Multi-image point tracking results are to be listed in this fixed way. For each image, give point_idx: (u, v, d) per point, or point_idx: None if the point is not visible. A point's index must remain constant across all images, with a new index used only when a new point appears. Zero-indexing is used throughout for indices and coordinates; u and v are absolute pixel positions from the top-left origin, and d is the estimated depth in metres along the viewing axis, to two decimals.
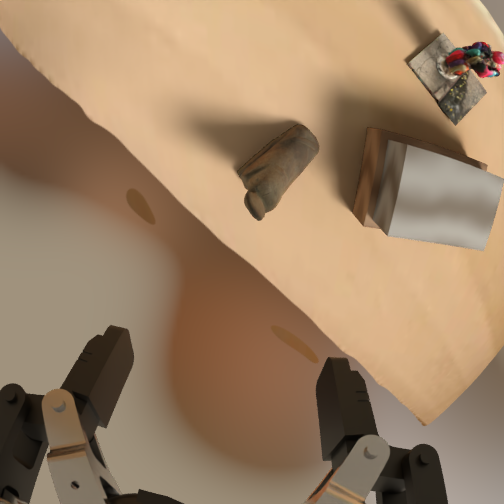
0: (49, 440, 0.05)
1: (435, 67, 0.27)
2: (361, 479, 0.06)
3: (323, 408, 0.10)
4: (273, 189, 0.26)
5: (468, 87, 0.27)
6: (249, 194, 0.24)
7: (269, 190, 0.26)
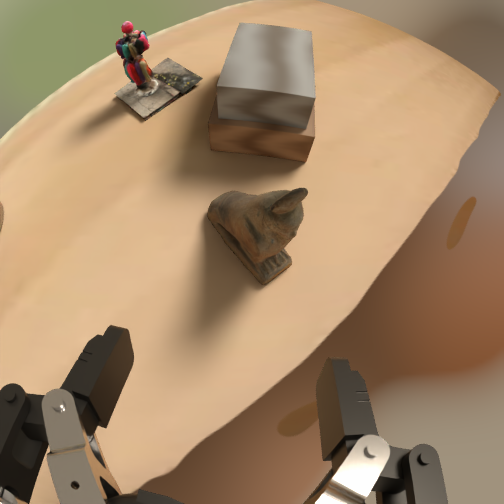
0: (49, 440, 0.05)
1: (147, 96, 0.37)
2: (361, 478, 0.06)
3: (323, 408, 0.10)
4: (270, 194, 0.20)
5: (165, 71, 0.38)
6: (272, 204, 0.18)
7: (271, 196, 0.20)
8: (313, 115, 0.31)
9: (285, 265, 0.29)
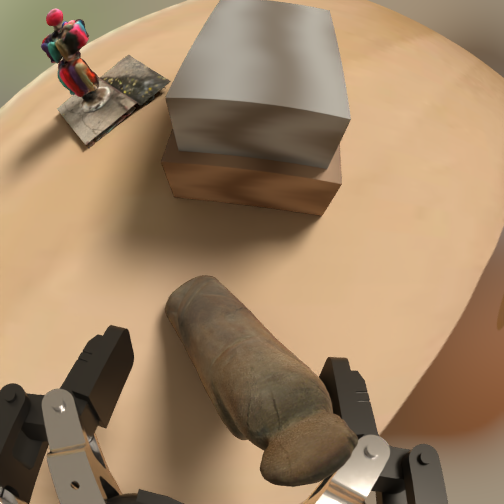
0: (49, 440, 0.05)
1: (94, 111, 0.25)
2: (361, 478, 0.06)
3: None
4: (264, 383, 0.08)
5: (122, 74, 0.26)
6: (265, 470, 0.05)
7: (265, 396, 0.08)
8: None
9: None
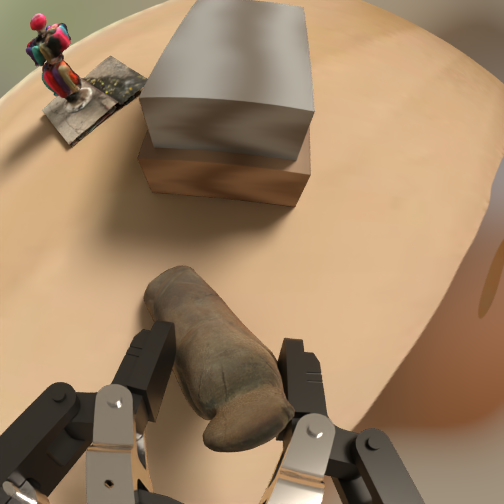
0: (94, 433, 0.06)
1: (77, 112, 0.24)
2: (312, 459, 0.06)
3: None
4: (216, 358, 0.09)
5: (104, 75, 0.26)
6: (205, 436, 0.06)
7: (215, 370, 0.09)
8: (307, 135, 0.20)
9: None
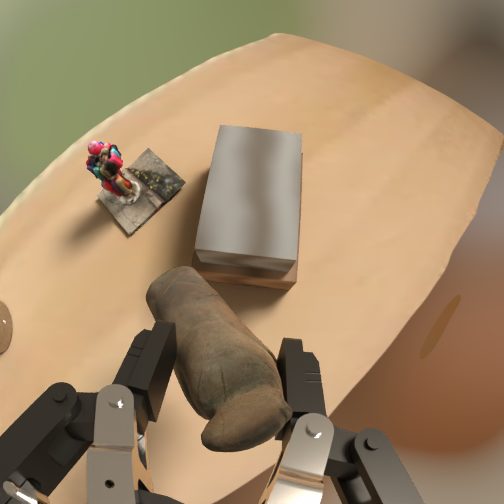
0: (95, 433, 0.06)
1: (130, 205, 0.39)
2: (311, 459, 0.06)
3: None
4: (215, 358, 0.09)
5: (146, 168, 0.41)
6: (204, 436, 0.06)
7: (215, 370, 0.09)
8: (297, 251, 0.34)
9: None
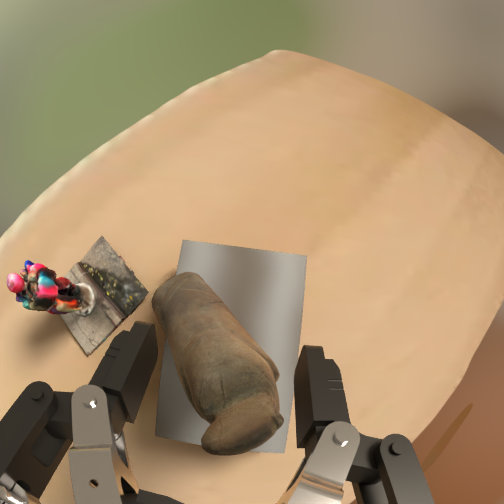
0: (74, 435, 0.06)
1: (85, 317, 0.29)
2: (334, 466, 0.06)
3: (298, 395, 0.10)
4: (215, 367, 0.10)
5: (100, 266, 0.31)
6: (203, 440, 0.07)
7: (215, 378, 0.09)
8: None
9: None
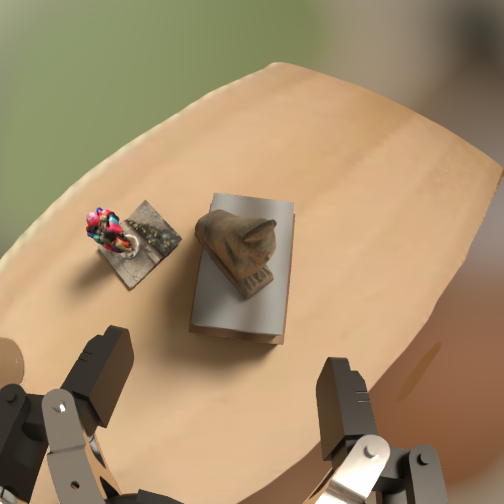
0: (49, 440, 0.05)
1: (130, 259, 0.42)
2: (361, 478, 0.06)
3: (323, 408, 0.10)
4: (245, 221, 0.22)
5: (144, 222, 0.44)
6: (243, 235, 0.19)
7: (246, 224, 0.22)
8: (285, 316, 0.36)
9: (266, 281, 0.31)
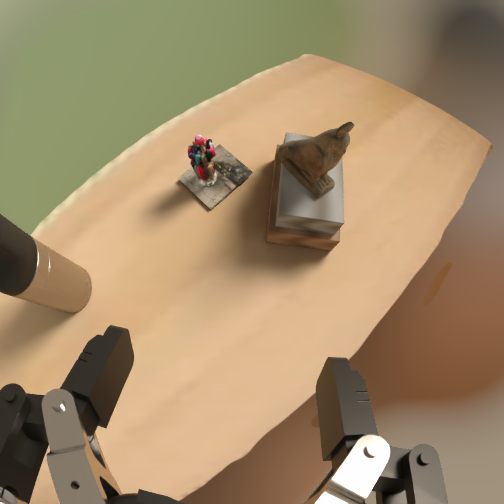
0: (49, 440, 0.05)
1: (209, 187, 0.53)
2: (361, 479, 0.06)
3: (323, 408, 0.10)
4: (331, 129, 0.34)
5: (219, 160, 0.55)
6: (337, 129, 0.31)
7: (332, 130, 0.33)
8: None
9: (331, 185, 0.43)
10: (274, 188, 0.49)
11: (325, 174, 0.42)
